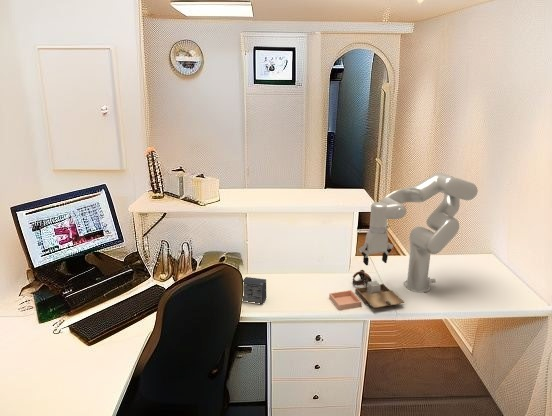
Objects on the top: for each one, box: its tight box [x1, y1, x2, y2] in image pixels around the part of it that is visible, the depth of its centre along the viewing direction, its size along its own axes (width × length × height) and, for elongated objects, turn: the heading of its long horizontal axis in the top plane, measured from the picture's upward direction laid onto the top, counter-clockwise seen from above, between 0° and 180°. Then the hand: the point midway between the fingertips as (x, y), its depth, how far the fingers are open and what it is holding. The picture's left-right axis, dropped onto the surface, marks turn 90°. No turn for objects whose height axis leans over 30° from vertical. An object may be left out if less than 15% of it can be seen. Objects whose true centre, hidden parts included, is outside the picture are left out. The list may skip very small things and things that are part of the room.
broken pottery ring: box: [352, 269, 373, 287], centre depth 216 cm, size 12×10×8 cm
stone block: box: [366, 280, 381, 294], centre depth 205 cm, size 4×4×6 cm
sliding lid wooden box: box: [354, 283, 405, 309], centre depth 200 cm, size 16×19×4 cm
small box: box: [242, 276, 268, 305], centre depth 201 cm, size 11×6×10 cm, turn 74°
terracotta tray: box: [328, 289, 363, 311], centre depth 199 cm, size 11×11×3 cm
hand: (375, 263), depth 200 cm, fingers open, 9 cm apart
